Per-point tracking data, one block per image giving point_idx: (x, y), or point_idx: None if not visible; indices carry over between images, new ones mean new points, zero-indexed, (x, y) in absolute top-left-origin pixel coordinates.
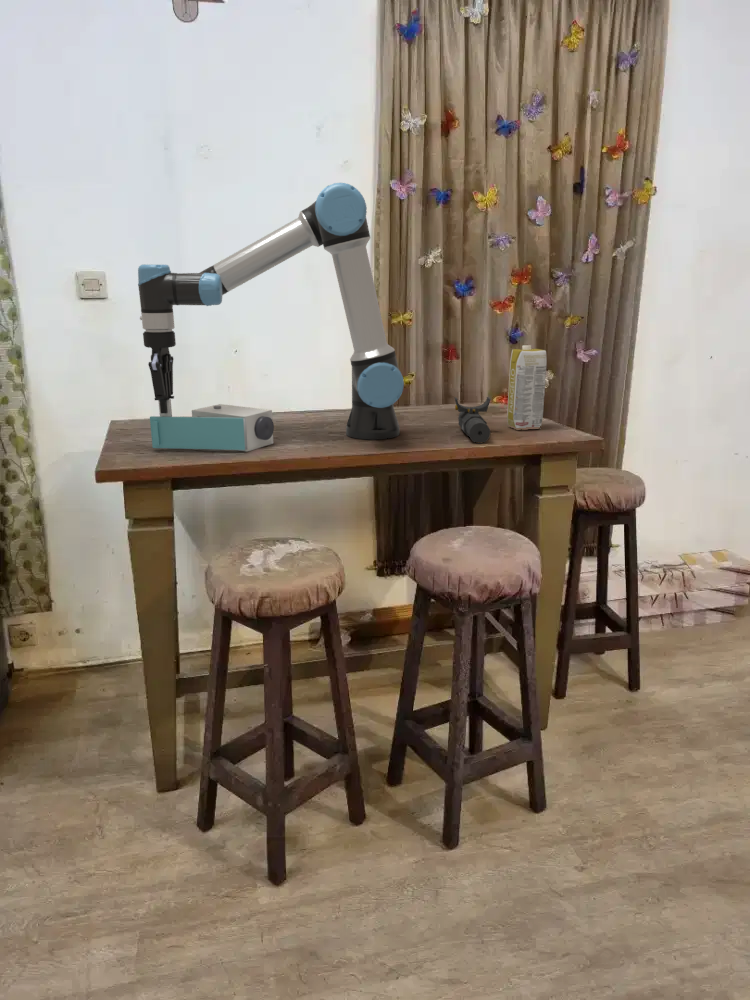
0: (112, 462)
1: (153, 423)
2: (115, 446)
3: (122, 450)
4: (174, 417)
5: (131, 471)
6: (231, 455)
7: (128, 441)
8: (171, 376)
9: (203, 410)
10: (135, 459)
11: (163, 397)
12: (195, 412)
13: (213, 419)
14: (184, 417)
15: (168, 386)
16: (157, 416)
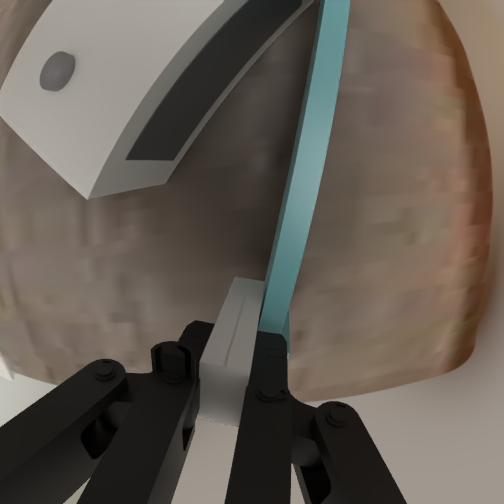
0: (384, 381)
1: None
2: None
3: None
4: (296, 277)
5: (478, 318)
6: (365, 42)
7: None
8: (12, 470)
9: (98, 125)
10: (371, 339)
11: (354, 421)
12: (105, 173)
13: (345, 34)
14: (309, 211)
15: (164, 461)
16: None
